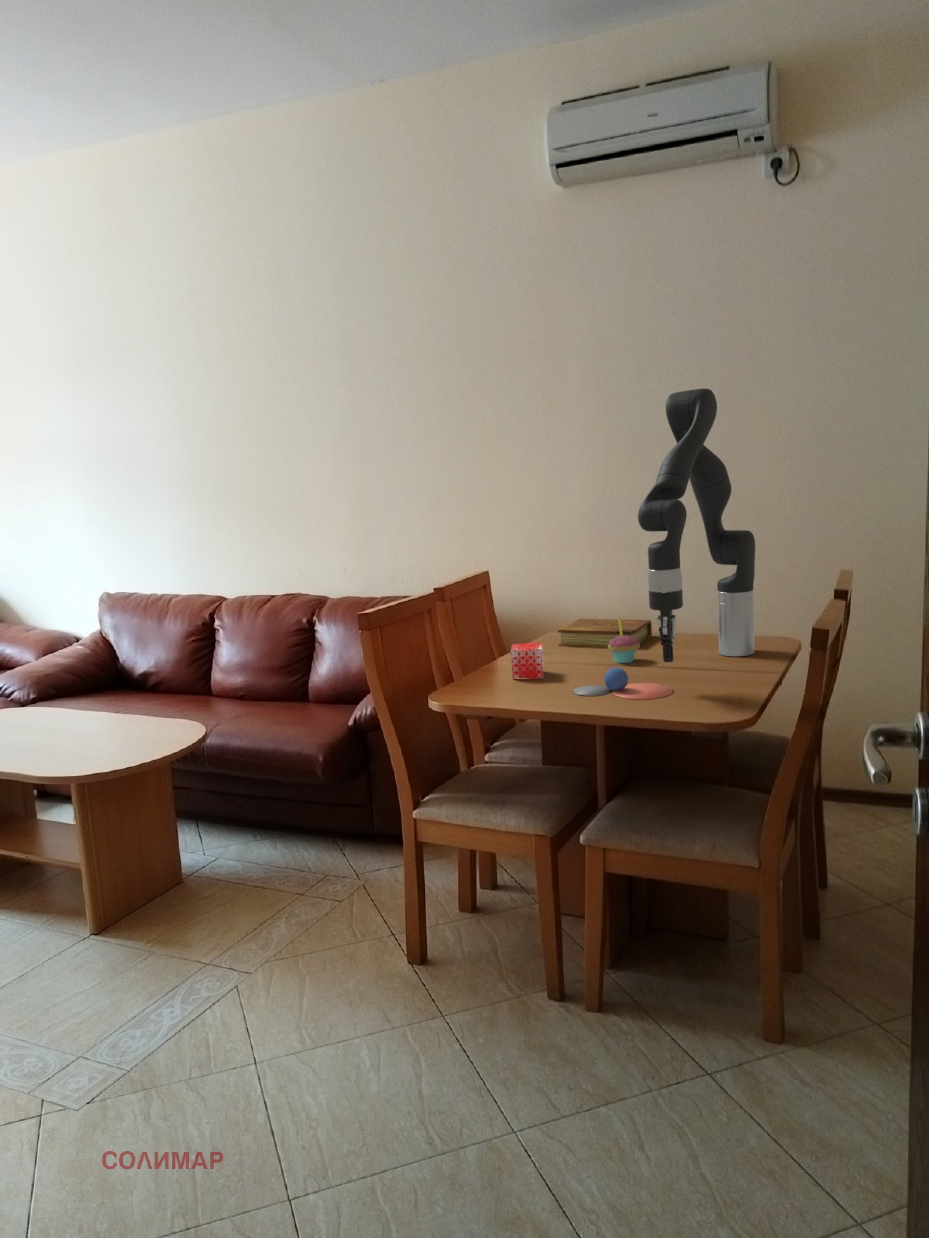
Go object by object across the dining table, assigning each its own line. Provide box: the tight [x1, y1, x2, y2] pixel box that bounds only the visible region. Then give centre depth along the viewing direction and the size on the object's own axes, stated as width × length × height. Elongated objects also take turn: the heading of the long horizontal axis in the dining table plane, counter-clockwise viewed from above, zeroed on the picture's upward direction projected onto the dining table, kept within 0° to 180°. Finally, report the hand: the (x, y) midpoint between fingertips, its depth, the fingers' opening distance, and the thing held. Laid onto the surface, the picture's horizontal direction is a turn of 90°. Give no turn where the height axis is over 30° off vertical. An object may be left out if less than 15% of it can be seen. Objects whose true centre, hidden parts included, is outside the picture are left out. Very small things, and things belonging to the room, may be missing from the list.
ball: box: [603, 667, 629, 692], centre depth 207 cm, size 6×6×6 cm
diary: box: [557, 618, 653, 649], centre depth 264 cm, size 23×19×6 cm
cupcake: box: [607, 616, 641, 664], centre depth 236 cm, size 9×8×12 cm
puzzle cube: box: [510, 642, 545, 679], centre depth 228 cm, size 8×8×8 cm
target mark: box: [611, 682, 674, 701], centre depth 205 cm, size 14×14×1 cm
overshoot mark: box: [572, 685, 612, 697], centre depth 209 cm, size 9×9×1 cm
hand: (668, 661), depth 202 cm, fingers closed
